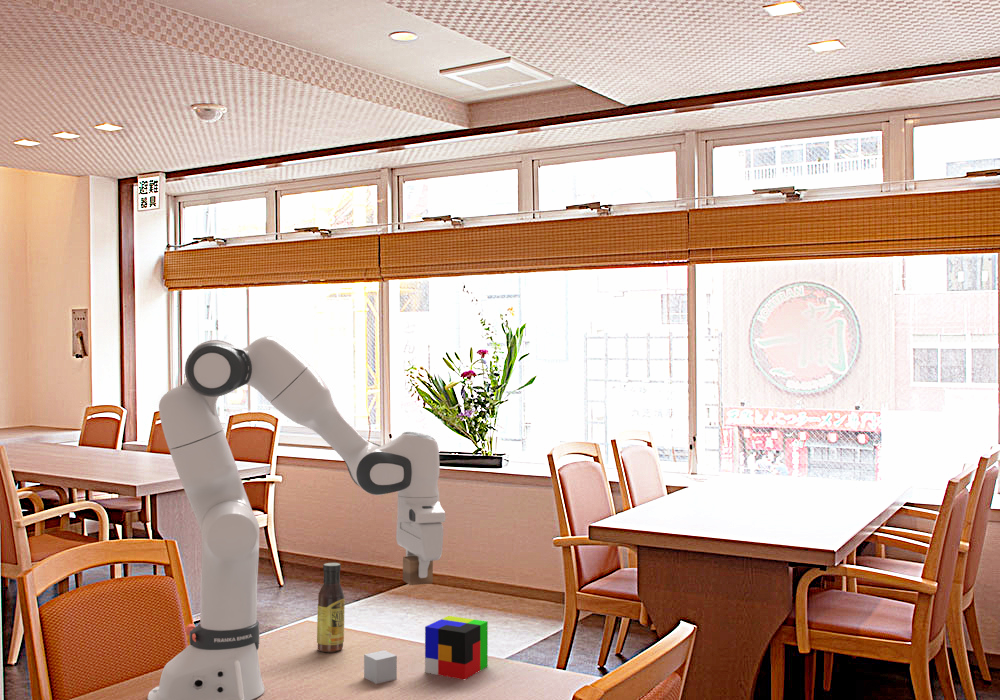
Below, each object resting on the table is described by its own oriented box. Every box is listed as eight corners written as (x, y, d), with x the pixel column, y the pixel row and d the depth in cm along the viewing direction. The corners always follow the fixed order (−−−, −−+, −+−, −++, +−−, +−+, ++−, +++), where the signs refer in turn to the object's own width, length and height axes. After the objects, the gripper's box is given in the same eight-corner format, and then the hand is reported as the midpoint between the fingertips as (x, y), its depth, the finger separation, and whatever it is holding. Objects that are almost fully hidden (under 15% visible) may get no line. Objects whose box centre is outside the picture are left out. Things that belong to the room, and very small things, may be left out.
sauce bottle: (335, 654, 218) (335, 568, 218) (311, 651, 220) (312, 566, 220) (349, 646, 224) (349, 562, 224) (326, 644, 226) (326, 560, 226)
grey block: (376, 684, 198) (376, 660, 198) (364, 678, 202) (364, 654, 202) (396, 679, 202) (396, 655, 202) (384, 673, 205) (384, 650, 205)
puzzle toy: (425, 672, 206) (425, 626, 206) (448, 660, 215) (448, 615, 215) (465, 680, 201) (465, 632, 201) (487, 666, 210) (487, 621, 210)
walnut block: (409, 585, 198) (410, 561, 198) (402, 580, 203) (403, 556, 203) (432, 583, 200) (432, 559, 200) (424, 578, 205) (425, 555, 205)
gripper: (389, 502, 210) (388, 565, 210) (419, 516, 191) (418, 585, 191) (416, 501, 212) (416, 563, 212) (448, 515, 194) (447, 583, 193)
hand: (417, 574), depth 201 cm, fingers closed on walnut block, 5 cm apart
